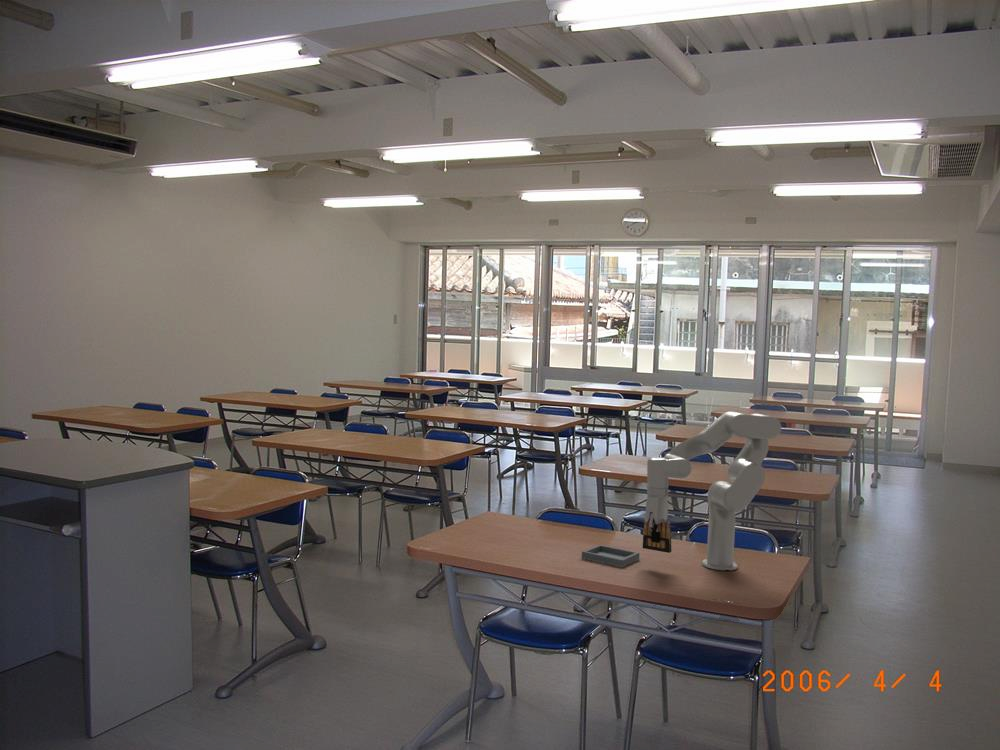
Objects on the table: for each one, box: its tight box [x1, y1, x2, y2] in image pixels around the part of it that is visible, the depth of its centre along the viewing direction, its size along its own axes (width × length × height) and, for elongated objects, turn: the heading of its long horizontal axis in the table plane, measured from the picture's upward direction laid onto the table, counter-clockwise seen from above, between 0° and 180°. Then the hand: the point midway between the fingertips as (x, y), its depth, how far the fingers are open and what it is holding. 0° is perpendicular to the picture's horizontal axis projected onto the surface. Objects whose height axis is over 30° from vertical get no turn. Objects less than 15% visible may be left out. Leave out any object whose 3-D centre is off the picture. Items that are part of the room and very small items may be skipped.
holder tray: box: [581, 544, 640, 568], centre depth 296 cm, size 14×17×3 cm
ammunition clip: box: [642, 518, 673, 554], centre depth 287 cm, size 11×2×12 cm, turn 54°
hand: (657, 541), depth 287 cm, fingers closed on ammunition clip, 2 cm apart
